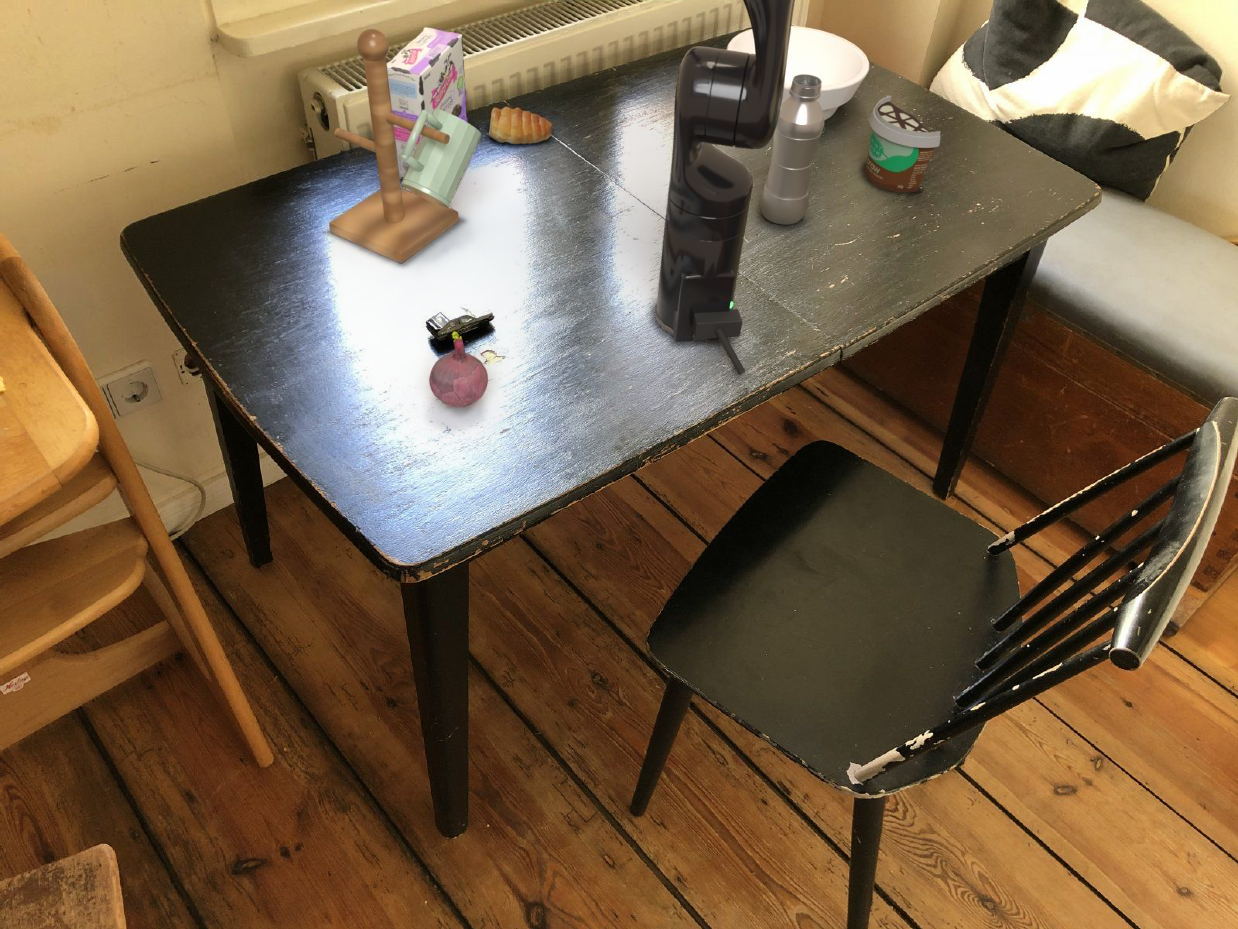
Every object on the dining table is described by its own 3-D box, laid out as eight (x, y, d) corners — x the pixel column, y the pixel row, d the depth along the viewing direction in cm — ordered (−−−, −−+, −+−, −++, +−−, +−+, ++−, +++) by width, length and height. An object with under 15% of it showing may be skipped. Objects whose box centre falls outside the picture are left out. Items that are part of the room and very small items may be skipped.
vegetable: (498, 396, 113) (495, 326, 105) (471, 431, 109) (466, 361, 101) (451, 379, 114) (445, 309, 107) (422, 413, 110) (414, 343, 103)
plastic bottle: (802, 234, 138) (833, 95, 124) (754, 226, 139) (778, 88, 125) (806, 209, 143) (836, 72, 128) (759, 201, 143) (783, 65, 129)
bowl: (785, 62, 175) (794, 13, 169) (886, 114, 164) (899, 64, 157) (691, 96, 164) (697, 45, 158) (791, 155, 153) (802, 103, 147)
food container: (840, 163, 152) (855, 100, 145) (872, 155, 154) (889, 93, 147) (890, 204, 145) (908, 140, 138) (923, 195, 147) (943, 132, 140)
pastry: (552, 125, 155) (552, 102, 152) (550, 148, 150) (550, 125, 148) (491, 122, 155) (490, 99, 152) (487, 145, 150) (486, 121, 147)
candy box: (430, 187, 141) (420, 74, 129) (392, 178, 142) (378, 65, 130) (470, 141, 151) (464, 32, 139) (434, 133, 152) (425, 24, 140)
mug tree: (483, 230, 135) (473, 35, 116) (426, 274, 127) (405, 74, 108) (378, 187, 141) (353, -5, 121) (318, 227, 133) (281, 29, 114)
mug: (417, 196, 130) (449, 125, 130) (457, 213, 128) (490, 141, 128) (373, 165, 120) (407, 88, 120) (415, 182, 118) (451, 104, 118)
